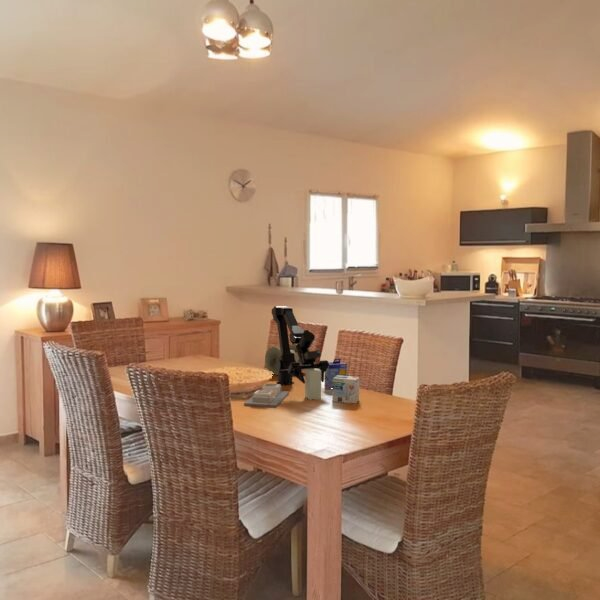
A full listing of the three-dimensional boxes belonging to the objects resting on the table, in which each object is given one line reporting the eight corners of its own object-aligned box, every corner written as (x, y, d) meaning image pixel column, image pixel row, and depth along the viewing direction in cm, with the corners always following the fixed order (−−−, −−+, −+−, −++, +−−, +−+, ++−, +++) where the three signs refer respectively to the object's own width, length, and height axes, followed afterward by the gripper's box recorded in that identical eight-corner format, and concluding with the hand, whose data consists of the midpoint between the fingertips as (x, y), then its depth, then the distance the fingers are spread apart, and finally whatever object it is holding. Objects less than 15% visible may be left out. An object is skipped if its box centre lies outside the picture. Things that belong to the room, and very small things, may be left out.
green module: (305, 397, 286) (305, 369, 285) (316, 396, 288) (316, 368, 287) (309, 399, 281) (310, 371, 280) (320, 398, 283) (321, 370, 282)
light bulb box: (331, 401, 279) (332, 377, 278) (336, 398, 285) (337, 374, 284) (355, 404, 275) (355, 379, 274) (359, 400, 281) (360, 376, 280)
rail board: (259, 392, 295) (259, 381, 295) (289, 393, 293) (289, 382, 292) (244, 405, 270) (244, 393, 269) (276, 407, 267) (276, 395, 267)
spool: (283, 377, 331) (284, 348, 329) (265, 372, 341) (265, 345, 340) (306, 373, 342) (306, 345, 341) (287, 369, 353) (287, 342, 352)
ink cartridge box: (328, 389, 302) (329, 359, 301) (323, 387, 307) (324, 358, 306) (347, 388, 306) (347, 358, 305) (341, 385, 311) (342, 356, 310)
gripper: (290, 344, 283) (300, 373, 274) (327, 342, 291) (338, 370, 281) (283, 359, 291) (292, 387, 282) (320, 357, 298) (330, 384, 289)
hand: (313, 382), depth 283 cm, fingers open, 9 cm apart
